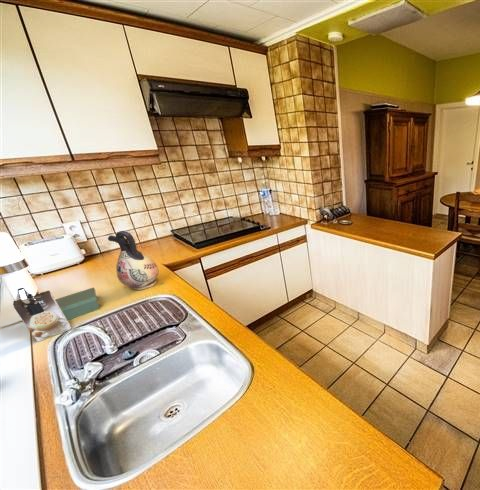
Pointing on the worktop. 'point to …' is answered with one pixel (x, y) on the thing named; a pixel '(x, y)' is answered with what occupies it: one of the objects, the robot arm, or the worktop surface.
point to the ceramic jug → (133, 263)
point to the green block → (78, 303)
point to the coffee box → (43, 317)
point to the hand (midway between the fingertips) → (38, 309)
